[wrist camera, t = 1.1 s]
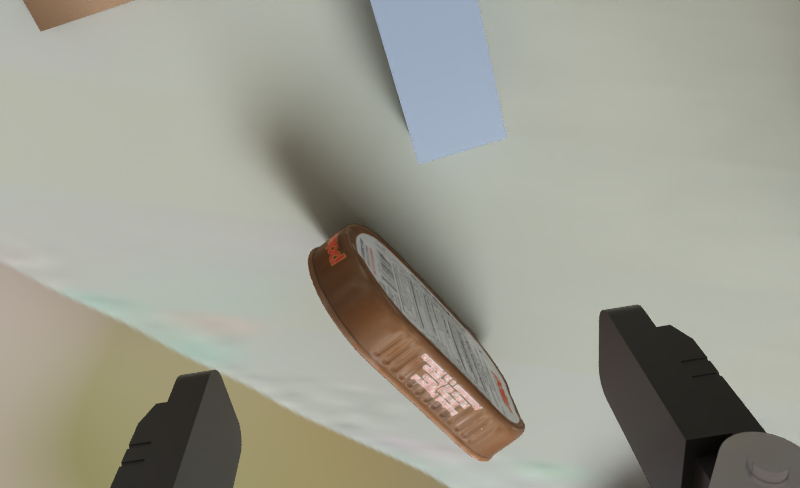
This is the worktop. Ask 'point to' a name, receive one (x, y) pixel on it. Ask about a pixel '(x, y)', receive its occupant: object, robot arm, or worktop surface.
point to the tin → (414, 340)
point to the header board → (66, 10)
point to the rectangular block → (441, 74)
